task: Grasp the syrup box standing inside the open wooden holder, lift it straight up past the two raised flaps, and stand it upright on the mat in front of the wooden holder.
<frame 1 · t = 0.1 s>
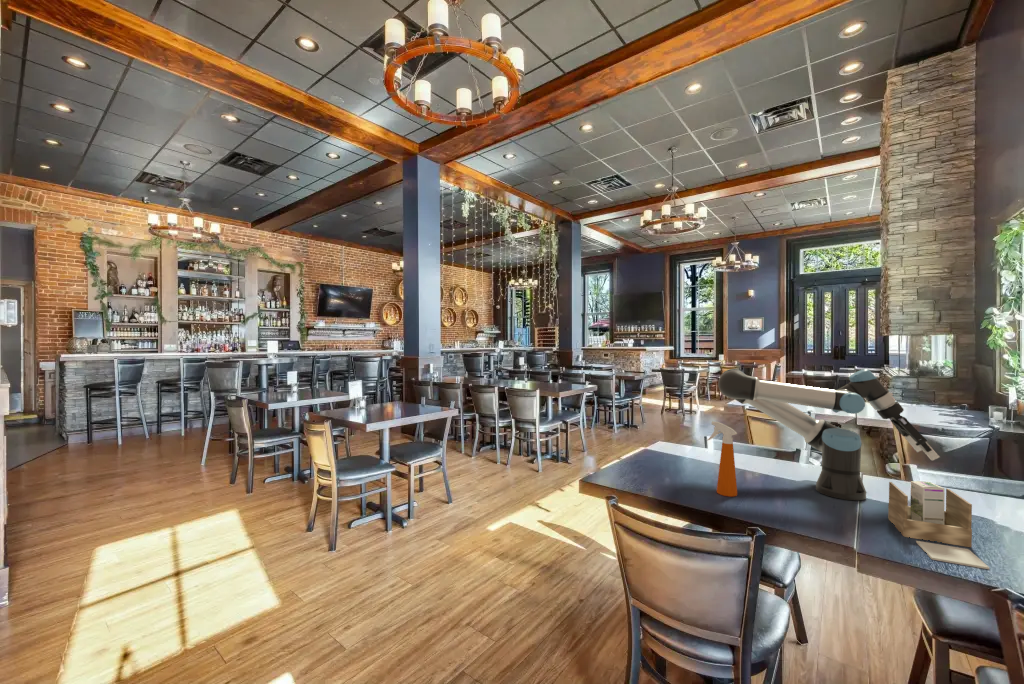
hand: (928, 454, 165), 15 cm above the table, tool tilted 35°, fingers open, 13 cm apart
mat: (950, 555, 119), on the table
syrup box: (926, 532, 133), resting in wooden holder
spray bottle: (721, 492, 166), on the table
wooden holder: (926, 532, 133), on the table
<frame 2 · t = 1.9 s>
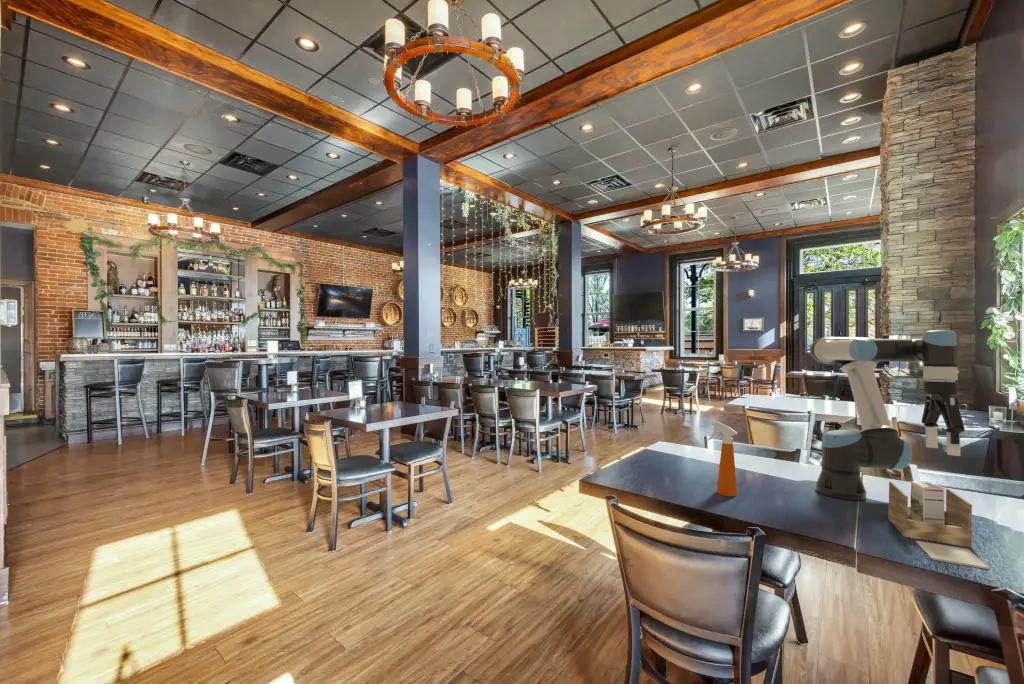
hand: (942, 451, 134), 24 cm above the table, tool pointing down, fingers open, 13 cm apart
nothing on the table moved.
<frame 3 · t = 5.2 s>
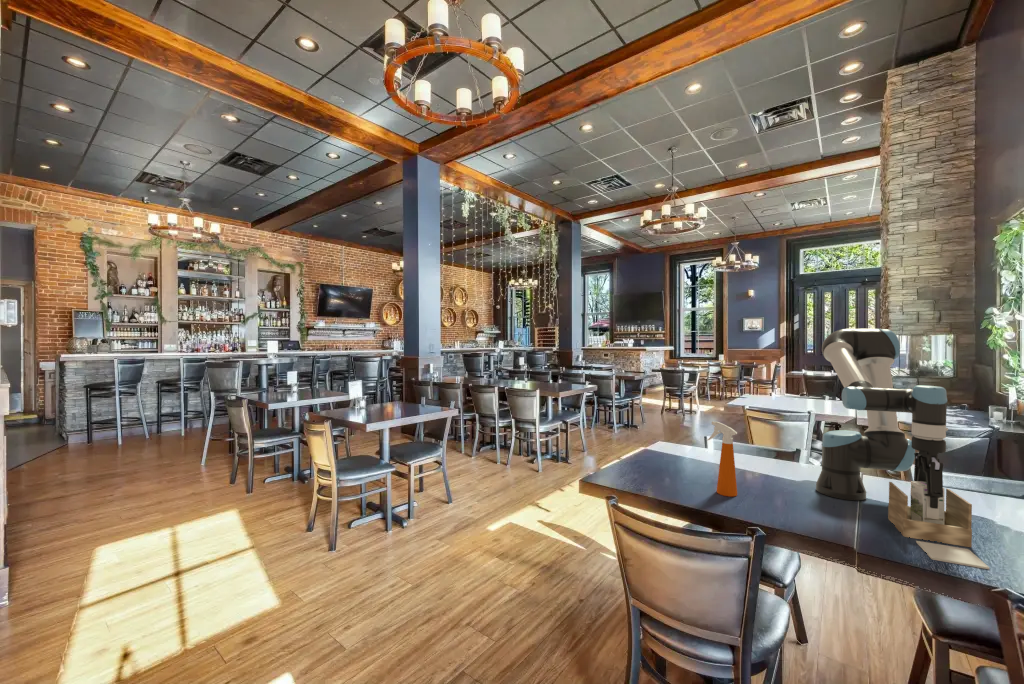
hand: (927, 513, 133), 6 cm above the table, tool pointing down, fingers closed on syrup box, 7 cm apart
syrup box: (926, 532, 133), resting in wooden holder, touching gripper
everything else where it was.
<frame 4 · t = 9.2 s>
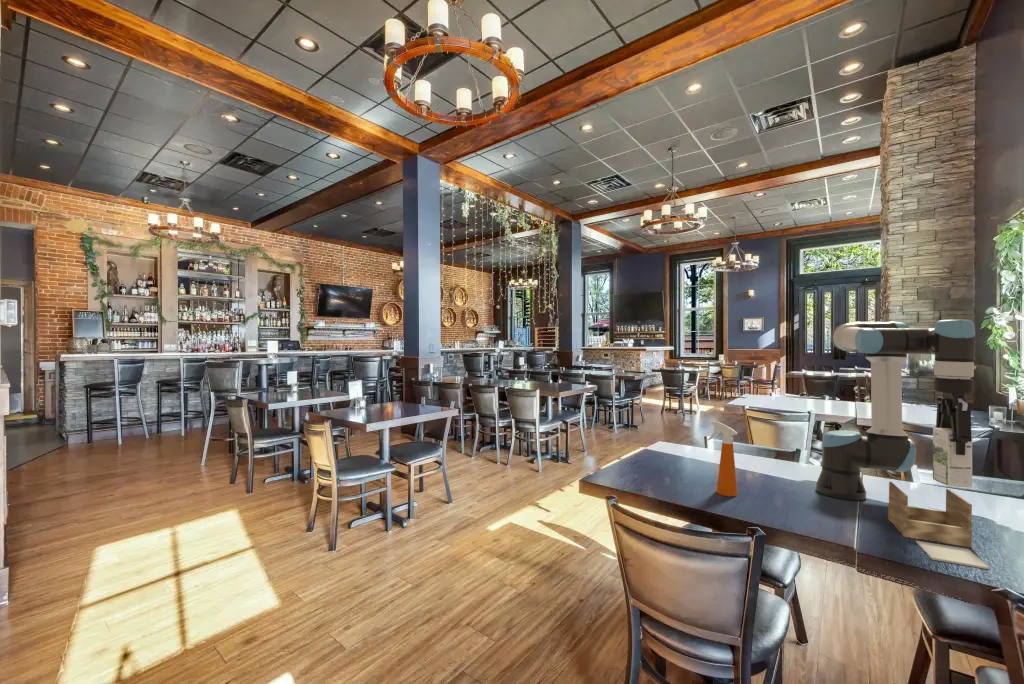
hand: (952, 463, 119), 25 cm above the table, tool pointing down, fingers closed on syrup box, 7 cm apart
syrup box: (951, 484, 119), point 19 cm above the table, touching gripper
everything else where it was.
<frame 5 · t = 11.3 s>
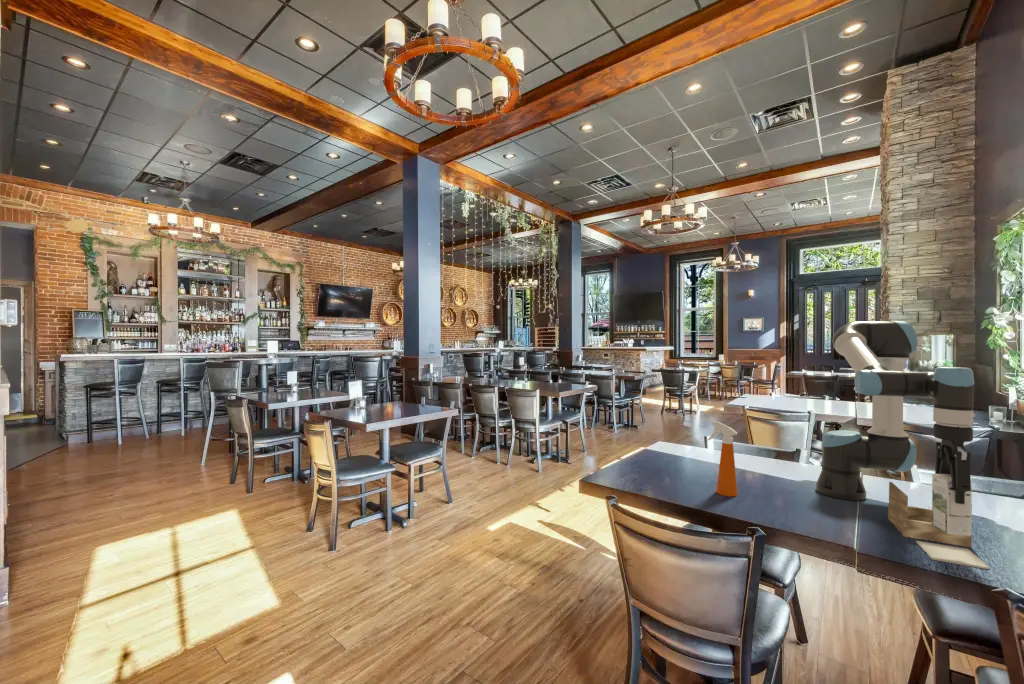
hand: (951, 510, 119), 12 cm above the table, tool pointing down, fingers closed on syrup box, 7 cm apart
syrup box: (951, 531, 119), point 6 cm above the table, touching gripper
everything else where it was.
when the fingers open (7 cm above the table, at t = 13.1 s): syrup box drops 1 cm, resting on mat.
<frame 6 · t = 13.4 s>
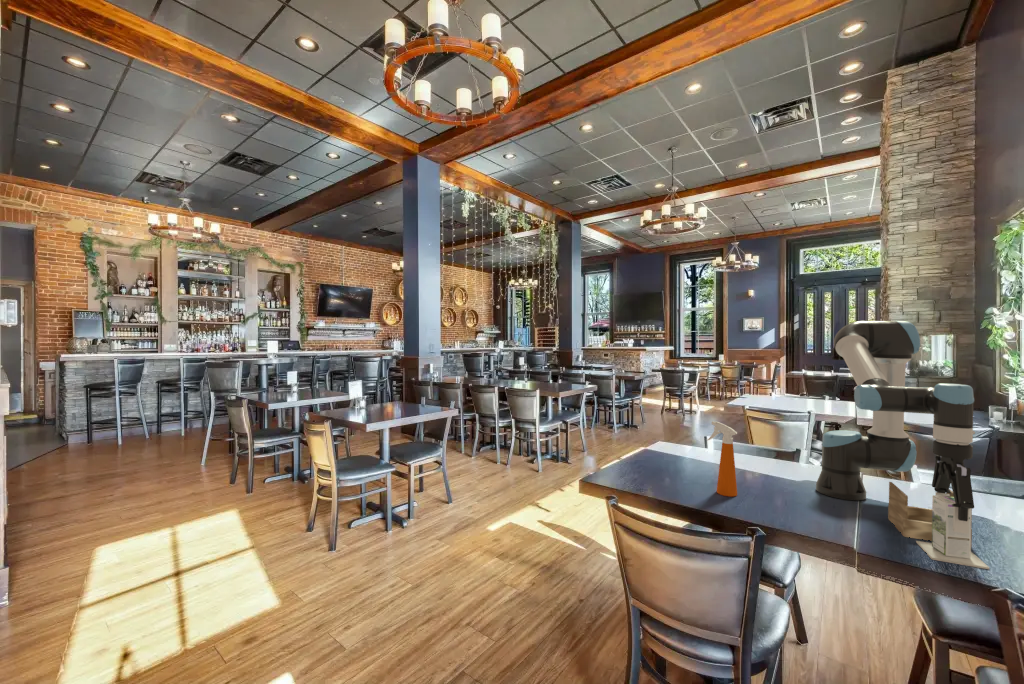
hand: (951, 524, 119), 8 cm above the table, tool pointing down, fingers open, 10 cm apart
syrup box: (950, 553, 119), resting on mat
everything else where it was.
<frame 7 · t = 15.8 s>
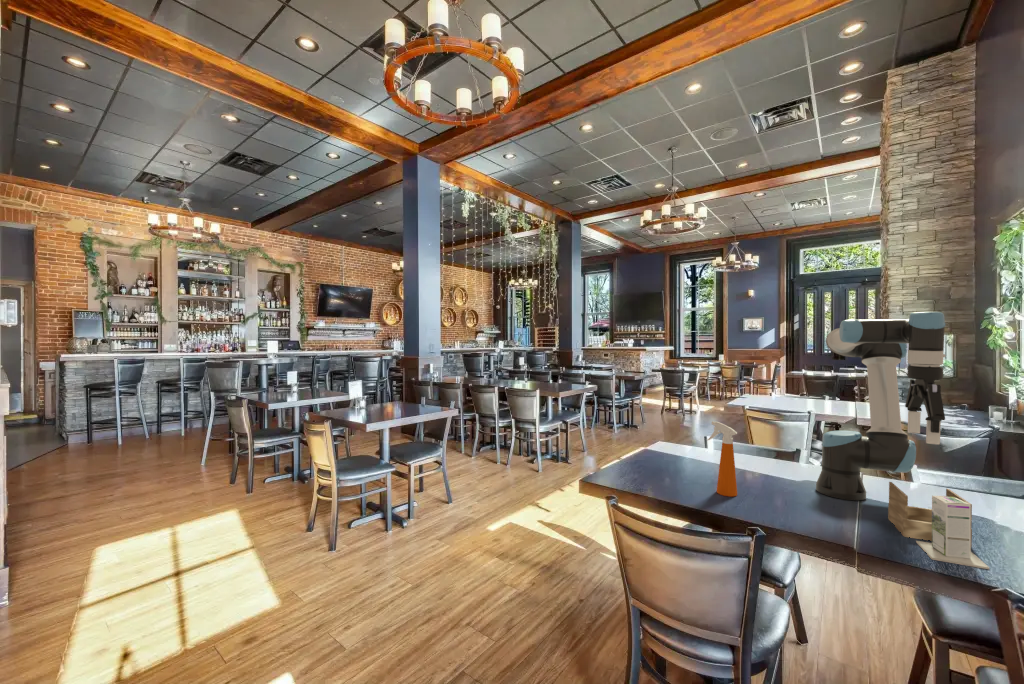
hand: (922, 438, 129), 29 cm above the table, tool pointing down, fingers open, 13 cm apart
nothing on the table moved.
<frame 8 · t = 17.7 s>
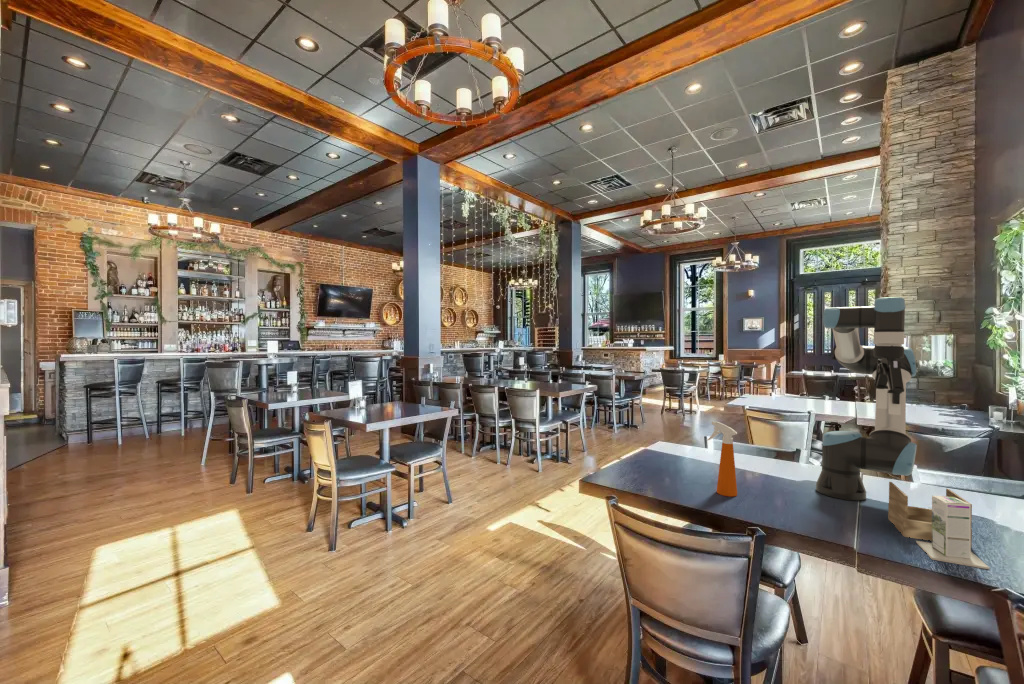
hand: (887, 411, 143), 35 cm above the table, tool pointing down, fingers open, 13 cm apart
nothing on the table moved.
at the end: syrup box inside the target area on the mat (0.1 cm from its centre), point 0.3 cm above the mat's base; syrup box tilted 0°; the gripper is holding nothing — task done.
